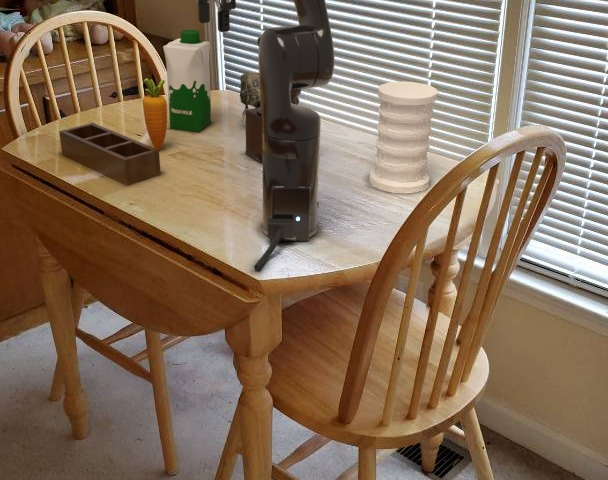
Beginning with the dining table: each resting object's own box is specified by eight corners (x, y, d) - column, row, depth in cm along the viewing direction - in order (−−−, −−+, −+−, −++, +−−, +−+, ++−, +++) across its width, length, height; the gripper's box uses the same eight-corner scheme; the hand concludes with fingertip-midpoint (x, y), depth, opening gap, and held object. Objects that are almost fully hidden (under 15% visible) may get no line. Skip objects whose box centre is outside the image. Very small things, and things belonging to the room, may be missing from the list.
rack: (127, 185, 152) (124, 160, 150) (62, 154, 165) (58, 131, 162) (160, 174, 157) (159, 150, 155) (95, 145, 170) (92, 122, 167)
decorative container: (438, 179, 159) (449, 87, 150) (414, 198, 151) (424, 102, 141) (385, 166, 164) (392, 77, 155) (359, 184, 156) (365, 91, 146)
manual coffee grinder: (241, 154, 168) (240, 66, 158) (283, 144, 174) (285, 59, 164) (286, 177, 158) (288, 85, 148) (330, 166, 164) (334, 76, 154)
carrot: (172, 146, 171) (168, 75, 163) (166, 155, 166) (162, 81, 158) (149, 145, 171) (144, 73, 163) (143, 153, 167) (137, 80, 159)
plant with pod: (231, 123, 185) (229, 32, 174) (275, 117, 189) (276, 28, 179) (246, 134, 179) (245, 40, 168) (291, 127, 183) (293, 36, 173)
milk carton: (216, 122, 185) (213, 31, 174) (200, 134, 178) (196, 40, 167) (180, 117, 187) (175, 27, 176) (163, 129, 180) (157, 36, 169)
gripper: (176, -68, 154) (181, 21, 162) (210, -58, 144) (213, 36, 152) (212, -69, 157) (214, 18, 166) (247, -60, 147) (248, 32, 156)
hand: (213, 26), depth 159 cm, fingers open, 8 cm apart
